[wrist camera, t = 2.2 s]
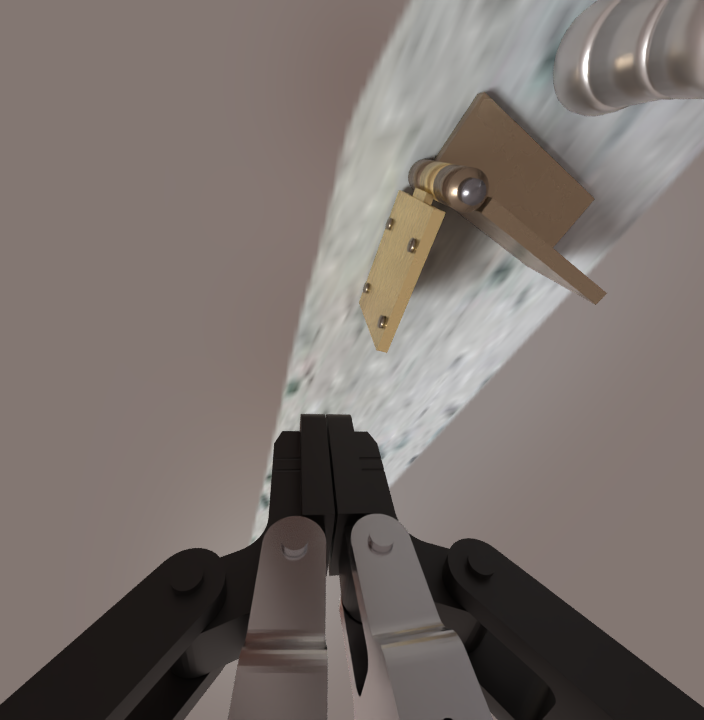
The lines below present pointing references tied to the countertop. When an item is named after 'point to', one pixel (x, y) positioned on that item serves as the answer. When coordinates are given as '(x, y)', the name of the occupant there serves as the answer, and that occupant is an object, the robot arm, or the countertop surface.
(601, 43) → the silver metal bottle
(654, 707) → the robot arm
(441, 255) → the countertop surface
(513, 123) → the hinge mount
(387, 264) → the plate
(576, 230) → the countertop surface
